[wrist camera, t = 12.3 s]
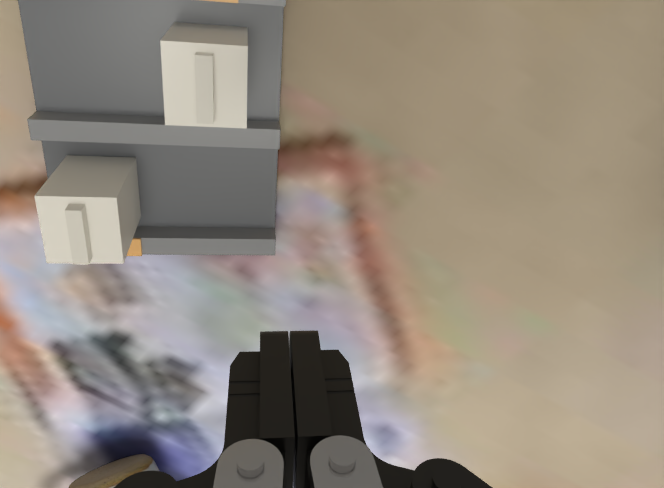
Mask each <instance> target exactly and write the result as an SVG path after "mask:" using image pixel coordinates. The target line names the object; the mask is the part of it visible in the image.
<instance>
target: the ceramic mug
mask: <svg viewBox="0 0 664 488" xmlns="http://www.w3.org/2000/svg"><path fill="white" fill-rule="evenodd" d="M142 471H159V469H158V467H157V465H156V463H155V461H154V460H153V459H152V458H151V457H150V456H148V455H145V454H138V455H133V456H129V457H125V458H122V459H119V460H116V461H114V462H111V463H108V464H106V465H103V466H101V467H99V468H97V469H95V470H92V471H90V472H88V473H86V474H85V475H83V476H81V477H79V478H78V479H76V480H75V481H74V482H73V483H71V485H70V486H69V488H114V487H115V486H116V485H117V484H118V483H120V482H121V481H122V480H124V479H125V478H127V477H129V476H130V475H133V474H135V473H138V472H142Z"/></svg>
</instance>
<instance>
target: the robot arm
mask: <svg viewBox="0 0 664 488" xmlns="http://www.w3.org/2000/svg"><path fill="white" fill-rule="evenodd" d="M114 488H492V487H491V486H489V485H488V484H487V483H485V482H484V481H483V480H481V479H480V478H478V477H477V476H476V475H474V474H473V473H472V472H470V471H469V470H468V469H466V468H465V467H463V466H462V465H460V464H458V463H456V462H454V461H451V460H447V459H440V458H437V459H430V460H427V461H425V462H423V463H421V464H420V465H419V466H418V467H417V468H416V469H415V471H414V470H410V469H406V468H402V467H397V466H394V465H391V464H388V463H386V462H384V461H382V460H380V459H379V458H378V457H376V456H375V455H374V454H373V453H372V452H371V451H370V449H369V448H368V447H367V445H366V443H365V440H364V437H363V432H362V427H361V422H360V417H359V412H358V407H357V402H356V397H355V393H354V387H353V382H352V377H351V372H350V367H349V363H348V361H347V360H346V359H345V358H344V357H343V355H342V354H341V353H340V352H339V350H321V349H320V342H319V335H318V331H290V340H289V338H288V331H273V332H260V352H239V354H238V355H237V357H236V358H235V360H234V361H233V363H232V364H231V366H230V376H229V389H228V402H227V415H226V429H225V442H224V448H223V451H222V453H221V455H220V457H219V458H218V460H217V461H216V462H215V463H214V464H213V465H212V466H211V467H209V468H208V469H207V470H205V471H203V472H202V473H200V474H197V475H195V476H192V477H189V478H186V479H183V480H180V481H177V482H176V481H175V479H174V478H173V477H171V476H170V475H168V474H166V473H164V472H161V471H142V472H138V473H135V474H133V475H130V476H129V477H127V478H125V479H124V480H122V481H121V482H120V483H118V484H117V485H116V486H115V487H114Z"/></svg>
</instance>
